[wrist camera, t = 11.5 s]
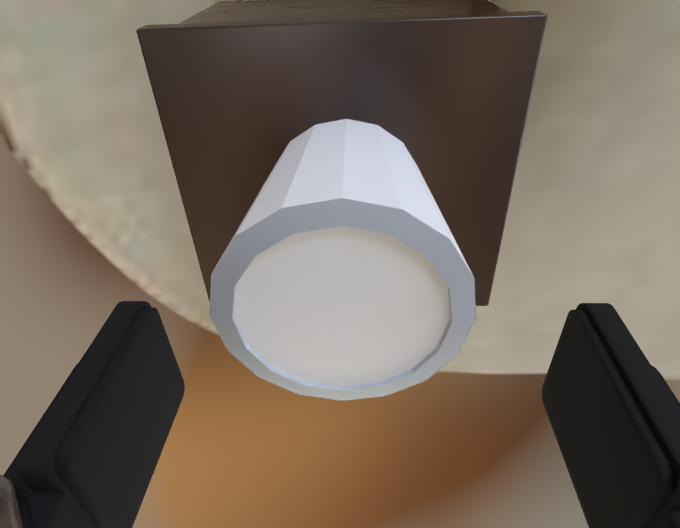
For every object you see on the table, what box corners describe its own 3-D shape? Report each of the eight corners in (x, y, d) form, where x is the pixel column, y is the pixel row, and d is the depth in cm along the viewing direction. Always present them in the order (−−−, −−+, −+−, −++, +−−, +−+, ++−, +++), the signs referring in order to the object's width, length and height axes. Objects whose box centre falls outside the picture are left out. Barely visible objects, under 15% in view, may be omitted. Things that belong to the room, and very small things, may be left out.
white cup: (449, 100, 15) (505, 202, 10) (427, 266, 19) (457, 406, 14) (244, 99, 15) (180, 199, 10) (264, 264, 19) (227, 401, 14)
